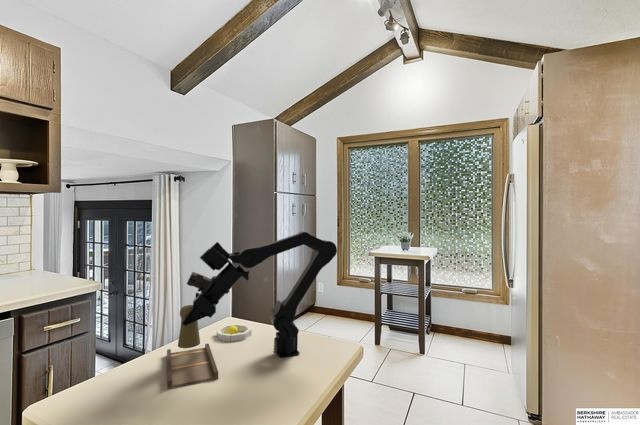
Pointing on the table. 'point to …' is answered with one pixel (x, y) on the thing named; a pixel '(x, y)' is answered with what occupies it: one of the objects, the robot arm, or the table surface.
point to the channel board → (190, 367)
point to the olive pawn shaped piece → (188, 330)
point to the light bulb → (232, 330)
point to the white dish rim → (234, 337)
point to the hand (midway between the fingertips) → (184, 321)
